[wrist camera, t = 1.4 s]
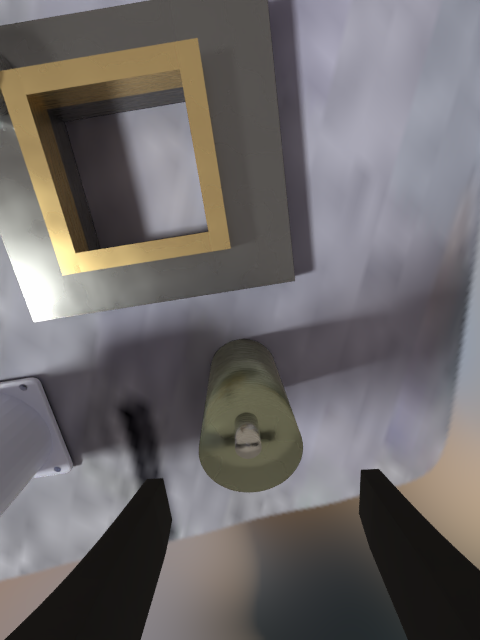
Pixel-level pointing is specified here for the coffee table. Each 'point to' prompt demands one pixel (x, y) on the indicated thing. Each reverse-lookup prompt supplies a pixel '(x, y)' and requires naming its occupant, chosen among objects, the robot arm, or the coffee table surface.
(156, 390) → the coffee table surface
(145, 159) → the coffee table surface
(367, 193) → the coffee table surface
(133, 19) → the square peg board
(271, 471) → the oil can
